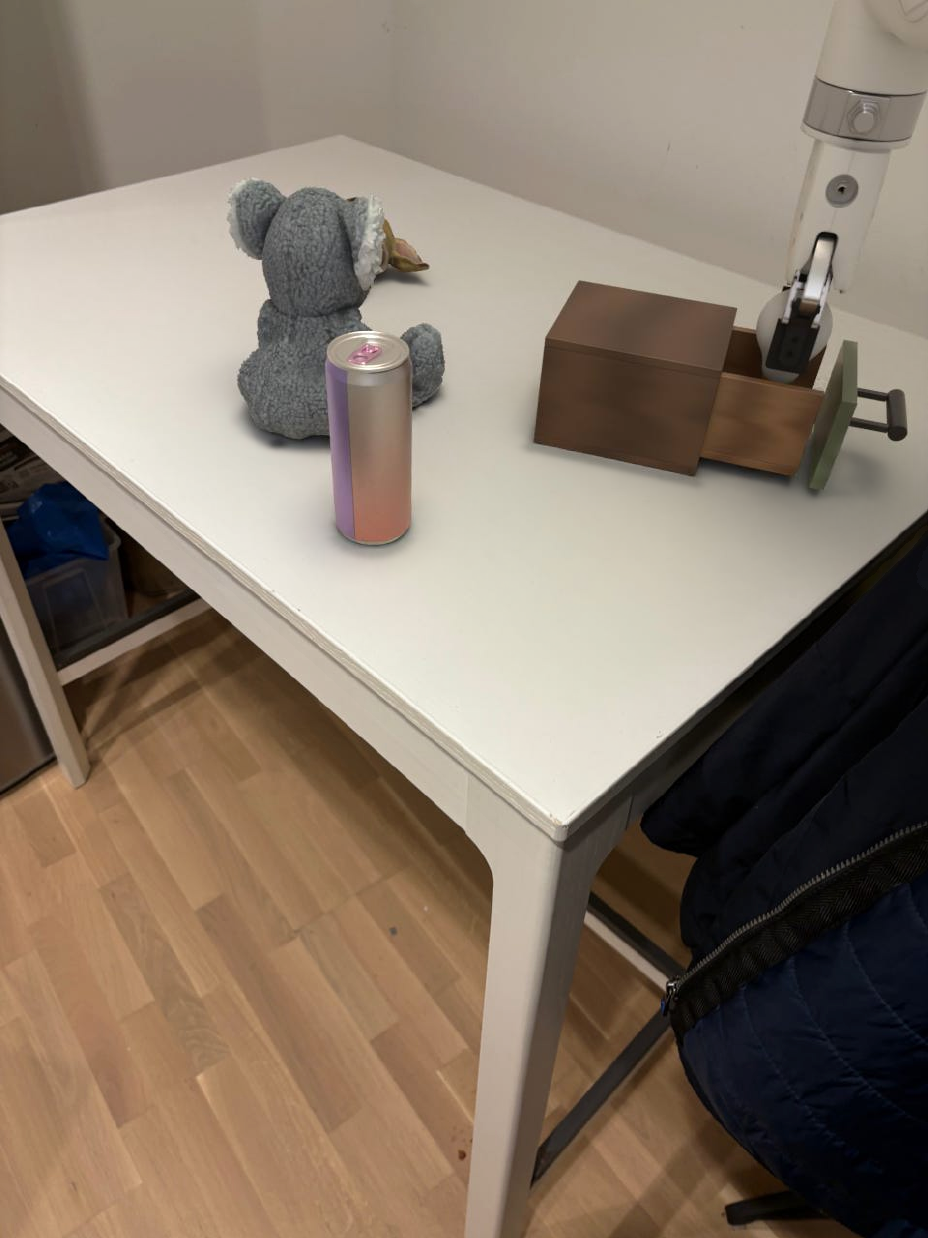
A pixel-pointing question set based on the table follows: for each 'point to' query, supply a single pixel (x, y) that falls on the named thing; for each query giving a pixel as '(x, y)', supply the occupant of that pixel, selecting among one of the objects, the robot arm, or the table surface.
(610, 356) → the cabinet
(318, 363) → the koala plush
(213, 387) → the table surface
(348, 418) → the beverage can
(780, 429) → the drawer
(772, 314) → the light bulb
